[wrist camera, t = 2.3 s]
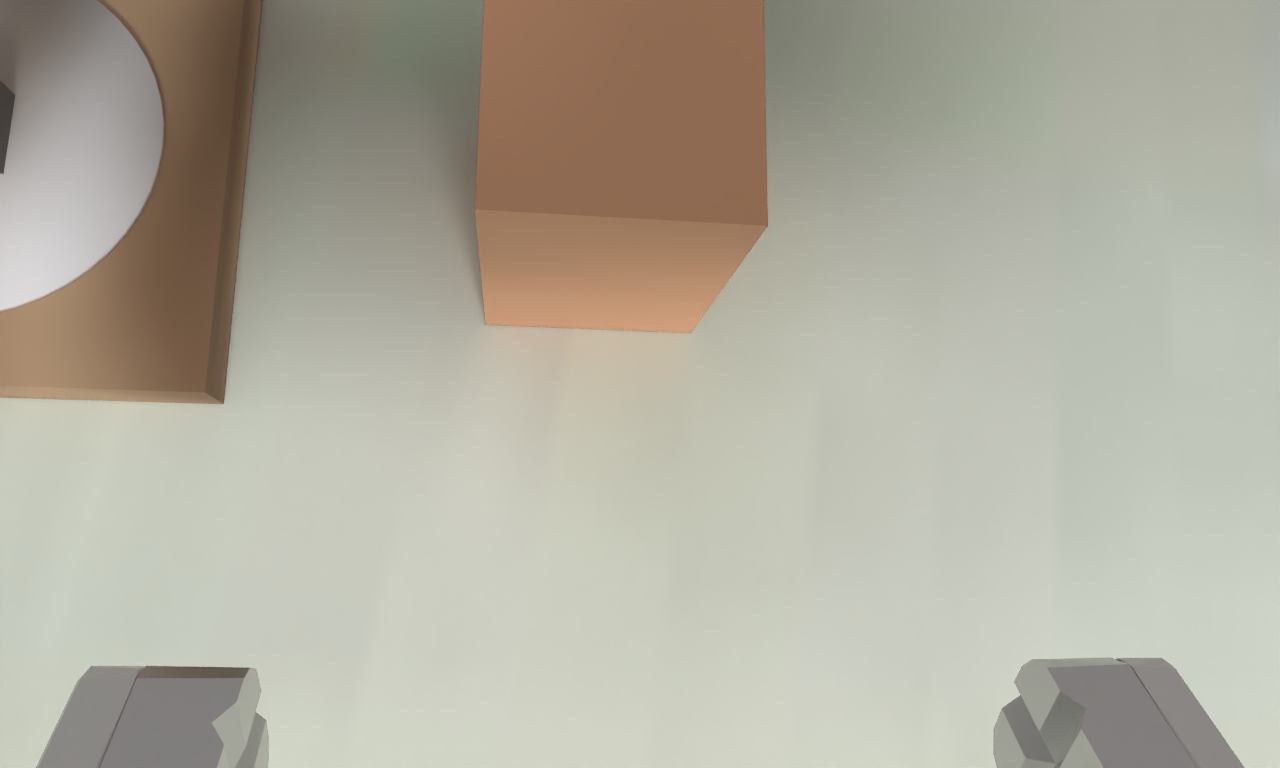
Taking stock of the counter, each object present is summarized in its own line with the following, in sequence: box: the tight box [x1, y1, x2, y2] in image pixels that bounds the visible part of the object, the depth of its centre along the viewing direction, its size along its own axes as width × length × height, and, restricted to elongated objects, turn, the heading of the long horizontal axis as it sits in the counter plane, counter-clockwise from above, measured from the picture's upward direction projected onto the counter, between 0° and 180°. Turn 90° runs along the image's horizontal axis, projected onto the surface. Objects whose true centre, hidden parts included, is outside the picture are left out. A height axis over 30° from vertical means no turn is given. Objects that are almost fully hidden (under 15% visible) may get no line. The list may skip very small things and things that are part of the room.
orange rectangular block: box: [475, 0, 768, 333], centre depth 22 cm, size 5×5×8 cm
